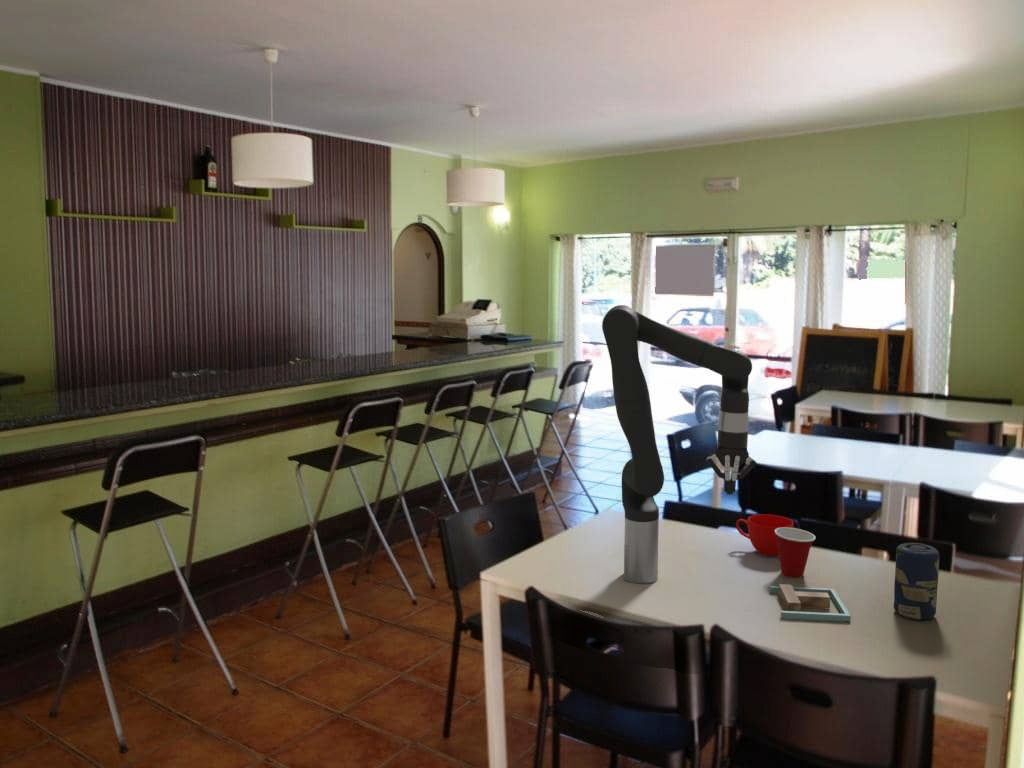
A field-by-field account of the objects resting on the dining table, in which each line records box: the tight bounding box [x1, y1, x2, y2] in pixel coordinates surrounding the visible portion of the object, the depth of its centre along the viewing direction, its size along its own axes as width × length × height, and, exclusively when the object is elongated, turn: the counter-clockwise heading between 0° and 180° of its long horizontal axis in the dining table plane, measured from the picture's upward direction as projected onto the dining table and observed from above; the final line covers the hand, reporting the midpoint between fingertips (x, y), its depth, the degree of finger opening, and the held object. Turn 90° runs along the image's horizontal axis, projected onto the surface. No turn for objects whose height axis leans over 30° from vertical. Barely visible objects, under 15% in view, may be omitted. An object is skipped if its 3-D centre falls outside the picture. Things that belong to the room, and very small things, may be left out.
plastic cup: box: [775, 527, 816, 579], centre depth 228 cm, size 11×11×12 cm
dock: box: [769, 585, 852, 622], centre depth 207 cm, size 16×17×2 cm
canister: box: [893, 542, 940, 620], centre depth 200 cm, size 10×10×18 cm
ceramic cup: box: [735, 513, 794, 558], centre depth 246 cm, size 13×17×10 cm
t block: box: [778, 583, 831, 612], centre depth 207 cm, size 11×12×3 cm
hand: (729, 493), depth 215 cm, fingers closed
